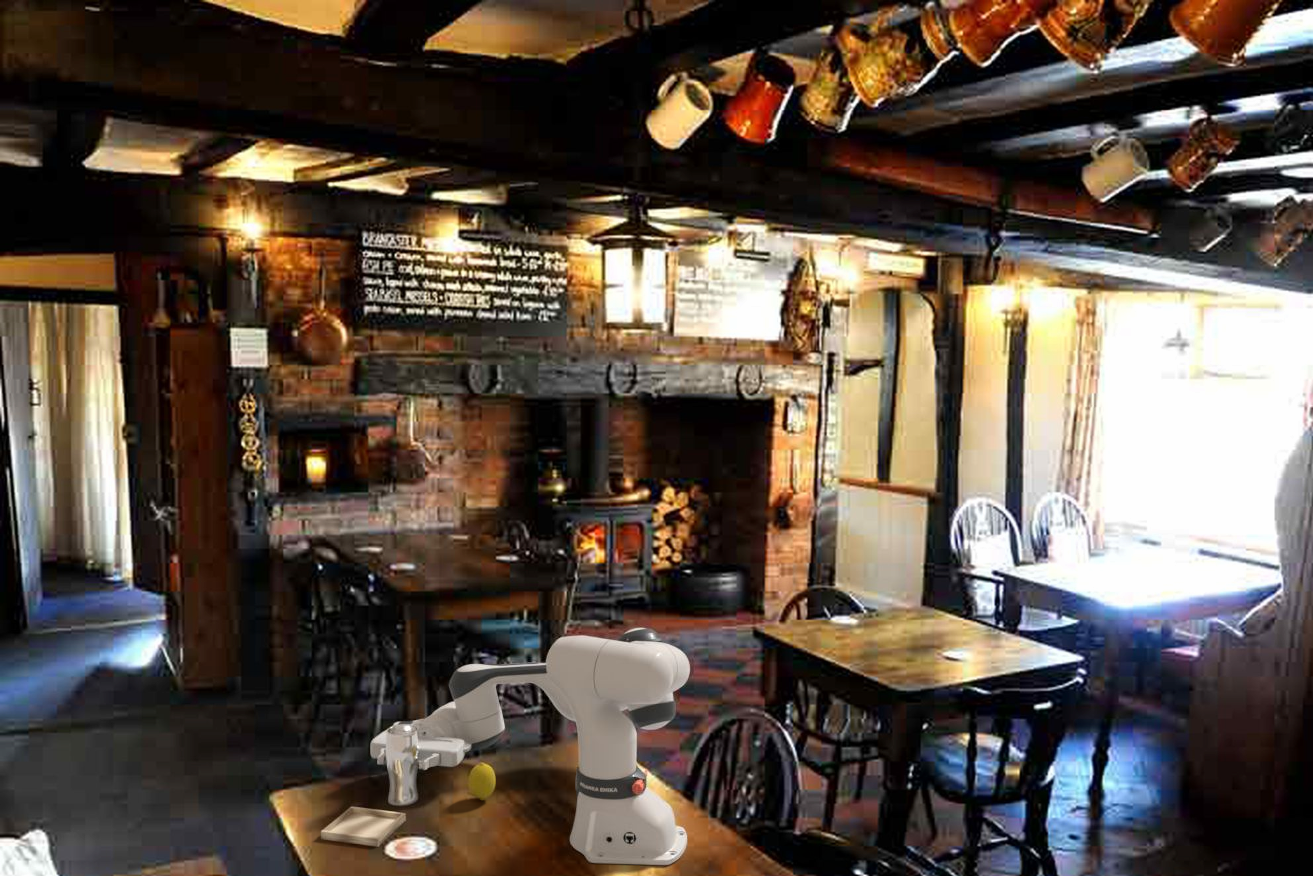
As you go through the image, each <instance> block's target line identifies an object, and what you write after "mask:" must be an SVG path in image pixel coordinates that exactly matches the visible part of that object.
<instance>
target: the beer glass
mask: <svg viewBox="0 0 1313 876" xmlns="http://www.w3.org/2000/svg"><path fill="white" fill-rule="evenodd" d="M386 730H387V731H386V750H385V751H386V762H387V763H386V766H387V773H388V779H389V792H388V796H387V800H388V803H389V805H392V806H395V807H397V806H399V807H403V806H409V805H413V804H414V803H416V802H417V801H418V799H419V793H418V789H417V788H418V787H417V774H418V770H419V757H420V738H419V728H418V727H417V726H416V725H412V724H400V725H395V726H393V725H392V726H390V727H388V728H387V729H386Z"/></svg>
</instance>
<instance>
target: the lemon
mask: <svg viewBox="0 0 1313 876" xmlns="http://www.w3.org/2000/svg"><path fill="white" fill-rule="evenodd" d="M468 776H469V777H468V788H469V792H470V793H471V795H472V796H473V797H475V798H477V799H479V800H481V801H484V800H485V799H486V798H488V797H490V796H491V795H492V794H493V792H494V791H495V788H496V784H497V783H496V780H497V779H496V774H495V771H494V769H493V767H492V766H490V765H489V764H488V763H485V762H480V763H479V764H477V765H475V766H474V767H473V768H472V769H471V771H470V774H469V775H468Z"/></svg>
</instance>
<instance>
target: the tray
mask: <svg viewBox="0 0 1313 876" xmlns="http://www.w3.org/2000/svg"><path fill="white" fill-rule="evenodd" d="M406 815H407V813H405V812H397V811H389V810H383V809H375V808H367V807H366V808H365V807H360V806H359V807H358V806H352V805H351V806H350V807H348V809H346V810H345V811H343V813H342V814H340V815H339V816H338V817H336V818H335V819H334V820H333V821H332V822H331V823H329V824H328V825H326V826H325V827H324V828H323V829H322V830H321V831H320V839H321V840H325V841H326V840H327V841H333V842H341V843H348V844H354V845H355V844H357V845H363V846H370V847H377V848H378V847H379V846H380V845H381V844H382V843H384V841H386V840H387V839H388V838H389V837H390V836H391V835H392V834H393V833H395V831H396V830H397V829H399V828H400V826H402V825H403V824H404V823H405V822H406V820H407V816H406Z"/></svg>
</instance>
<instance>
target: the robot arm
mask: <svg viewBox="0 0 1313 876" xmlns="http://www.w3.org/2000/svg"><path fill="white" fill-rule="evenodd" d="M690 673H691V665H690V661H689V659H688V657H687V655H686V654H685V653H684V652H683V651H682V650H681V649H680V648H679V647H676V646H674V645H671V644H669V643H665V642H664V640H663V638H661V637H660V635H659V633H658V632H656V630H654V629H652V628H646V627H636V628H635V627H634V628H631V629H629V630H627V631H626V632H624V633H623V634H620V635H619V636H618V638H617V639H616V640H615V639H608V638H602V637H598V636H591V635H590V636H589V635H570V636H561V637H560V638H557V639H556V640H555V642H553V643H552V645H551V647H550V649H549V650H548V652H547V655H546V659H545V661H534V662H532V661H531V662H516V663H515V662H513V663H498V664H494V663H493V664H492V663H490V664H489V663H487V664H486V663H470V664H465V665H462V666H461V667H458V668H457V669H455V671H453V674H452V676H451V677H450V680H449V683H448V687H449V691H450V694H451V696H452V700H453V701H450V702H448V703H446V704H444V705H442V706H440V707H438V708H437V709H436V710H434V711H433V712H432V714H430V715H429V716H427V717H425V718H420V719H416V720H407V721H406V720H405V721H404V720H403V721H396V722H394V723H393V724H392V726H395V725H400V724H412V725H416V726H417V727H418V728H419V738H420V757H419V764H418V770H423V771H426V770H428V768H431V767H432V768H433V767H436V766H438V767H448V768H453V767H456V766H458V765H459V764H460V763H461V762H462V760H463V759H464V757H465V754H466V753H467V752H469V751H471V752H472V751H479V750H483V749H485V748H489V747H490V746H492V745H494V744H495V743H496V742H497V741H499V739H500V738H501V737H502V736H503V734H504V732H505V730H506V727H505V722H504V720H505V719H504V717H503V711H502V708H501V705H500V702H499V701H500V700H499V697H498V693H497V692H498V691H497V688H496V687H497V685H505V684H521V683H522V684H523V683H525V684H526V683H530V684H531V683H532V684H534V685H536V686H538V687H539V688H540V689H542V691H544V693H545V694H546V696H547V697H548V698H549V700H550V702H551V703H552V705H553V706H554V707H555V709H556V710H557V711H558V712H559V713H560V714H561V715H562V716H563V717H564V718H566V719H568V720H570V721H572V722H575V725H576V729H577V741H578V742H577V743H578V746H577V747H578V766H577V767H576V775H575V791H576V795H575V796H576V797H577V800H576V801H577V802H576V810H575V816H574V821H573V826H572V829H571V832H570V835H569V843H570V845H571V846H572V847H573V849H575V850H576V851H578V852H579V853H581V854H582V855H584V857H585V858H586V860H587V861H588V862H589V863H593V864H613V865H614V864H617V865H647V866H648V865H650V866H651V865H652V866H669V865H671V864H673V863H675V862H676V861H678V860H679V859H680V858H681V857H682V855H683V854H684V853H685V851H686V849H687V846H688V834H687V832H686V830H685V828H684V827H682V826H679V825H676V819H675V814H674V810H673V808H672V807H671V805H670V803H668V802H667V801H665V800H664V798H662V797H660V796H659V795H658V794H657V793H655V792H654V791H652V789H650V788H649V787H648V786H647V783H648V781H647V777H648V769H647V768H645V770H644V771H642V770H641V769H640V768H639V766H638V765H637V754H638V753H637V752H638V751H637V749H638V748H637V746H638V745H637V744H638V743H637V742H638V741H637V738H638V734H637V729H642V730H648V731H651V730H652V731H653V730H658V729H660V728H663V727H665V726H666V725H668V723H670V722H671V721H673V720H674V718H675V717H676V709H677V708H676V701H675V700H674V692H676V691H677V690H680V688H682V687H683V686H684V685H685V684H686V683H687V682H688V679H689V677H690ZM625 710H627V713H623V711H625ZM636 728H637V729H636ZM386 731H387V729H386V730H384V731H382V732H380V733H379V734H378V735H376V736H375V737H374V738H373V739H372V740H371V742H370V748H369V749H370V756H371V758H372V759H376V760H377V761H376V762H377V763H376V764H377V765H381V766H385V765H387V762H386V751H385V750H386Z"/></svg>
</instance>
